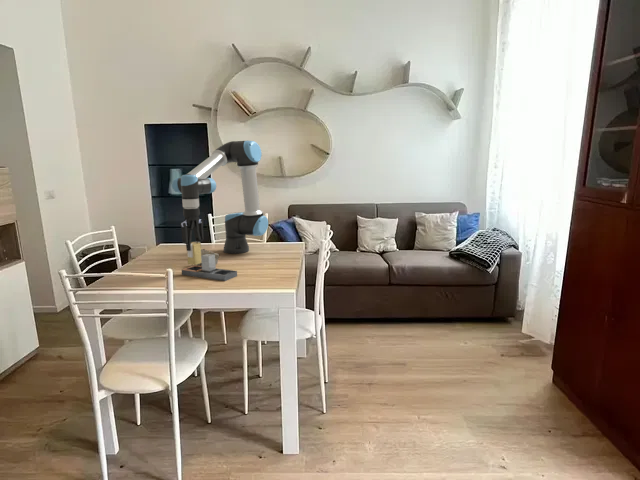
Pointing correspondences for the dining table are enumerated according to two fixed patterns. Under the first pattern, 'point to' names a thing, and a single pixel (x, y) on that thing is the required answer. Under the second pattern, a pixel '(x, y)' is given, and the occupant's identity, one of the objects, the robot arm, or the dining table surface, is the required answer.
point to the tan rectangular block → (195, 254)
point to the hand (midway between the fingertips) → (194, 255)
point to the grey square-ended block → (208, 263)
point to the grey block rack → (216, 275)
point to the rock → (209, 253)
